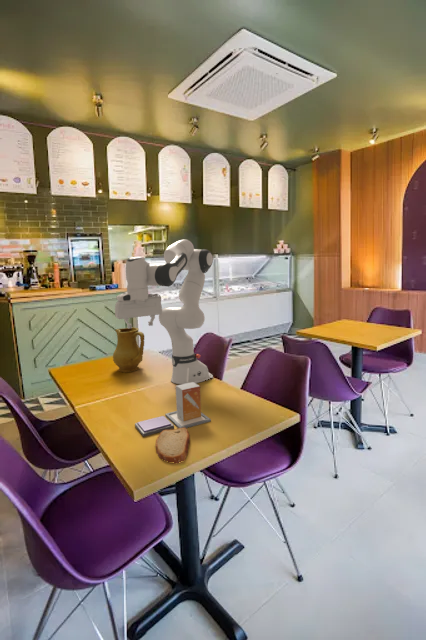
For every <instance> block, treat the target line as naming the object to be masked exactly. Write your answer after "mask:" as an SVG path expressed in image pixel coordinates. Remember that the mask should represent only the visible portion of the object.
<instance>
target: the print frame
mask: <svg viewBox="0 0 426 640" xmlns="http://www.w3.org/2000/svg"><path fill="white" fill-rule="evenodd" d="M164 416H165V417H166V418H167V419H168V420H169V421H170V422H171V423H172V424H173V425H174V426H175V427H176V428H177V429H178V428H183V427H184V428H186V429H188V427H189V428H192V427H195V426H198V425H199V426H200V425H203V424H206V423H209V422H211V420H212V419H211V418H210V417H209V416H207V415H206V414H205V413H203V412H202V411H201V417H198V418H194V419H190V420H187V421H182V420H181V419H180V418H179V417H178V416H177V410H175V411H171V412H167V413H164Z"/></svg>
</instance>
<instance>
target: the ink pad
mask: <svg viewBox="0 0 426 640" xmlns="http://www.w3.org/2000/svg"><path fill="white" fill-rule="evenodd" d="M134 427H135V429H137V431H138V432H139V433H140V434H141V436H142V437H147V436H151V435H155V434H158V433H159V434H160V433H161V432H162V431H163V430H174V429H175V424H174V423H173V422H172V421H171V420H170V419H168V418H167V417H166V416H165V415H161V416H157V417H152V418H149V419H145V420H140V421H137V422H134Z"/></svg>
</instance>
